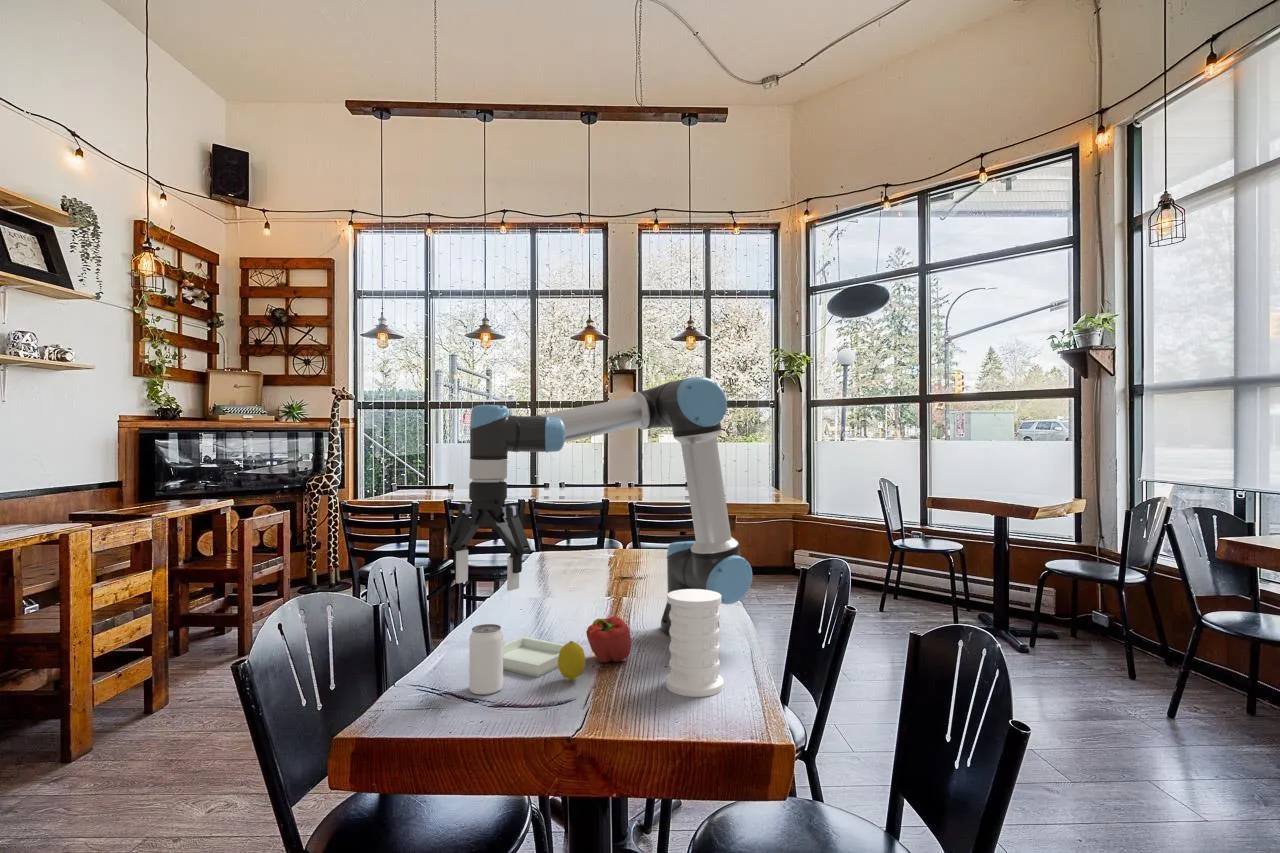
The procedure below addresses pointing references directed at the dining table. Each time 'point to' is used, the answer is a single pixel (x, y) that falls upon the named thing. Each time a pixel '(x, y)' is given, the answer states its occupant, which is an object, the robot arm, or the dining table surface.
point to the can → (486, 659)
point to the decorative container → (694, 643)
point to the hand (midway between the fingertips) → (486, 585)
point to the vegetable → (609, 639)
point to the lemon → (571, 660)
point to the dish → (531, 656)
